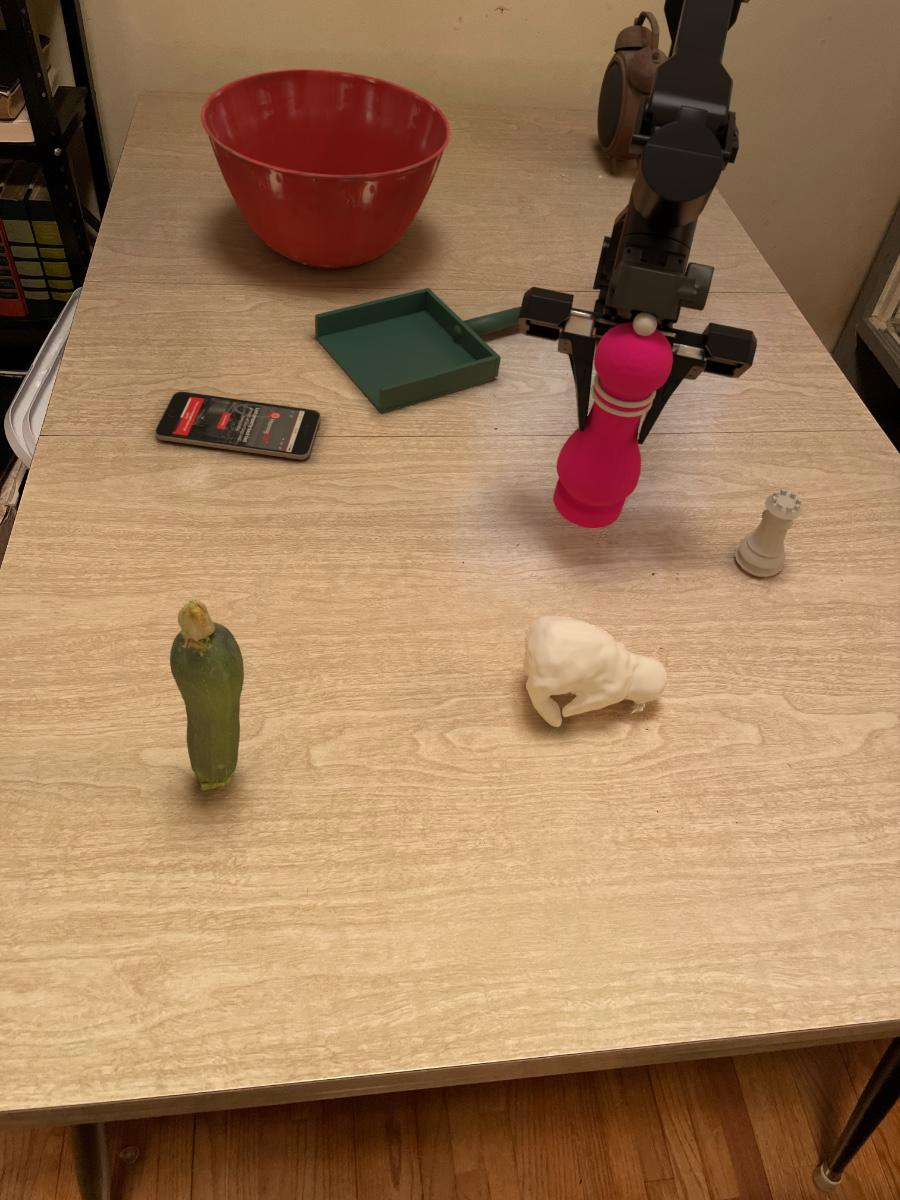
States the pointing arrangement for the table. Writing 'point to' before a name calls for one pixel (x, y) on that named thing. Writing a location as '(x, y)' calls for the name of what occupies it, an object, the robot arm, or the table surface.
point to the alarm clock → (627, 86)
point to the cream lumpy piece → (585, 669)
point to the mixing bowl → (325, 160)
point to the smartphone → (239, 425)
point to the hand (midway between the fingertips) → (610, 437)
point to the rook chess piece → (769, 536)
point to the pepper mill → (612, 424)
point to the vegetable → (208, 693)
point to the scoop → (411, 347)
